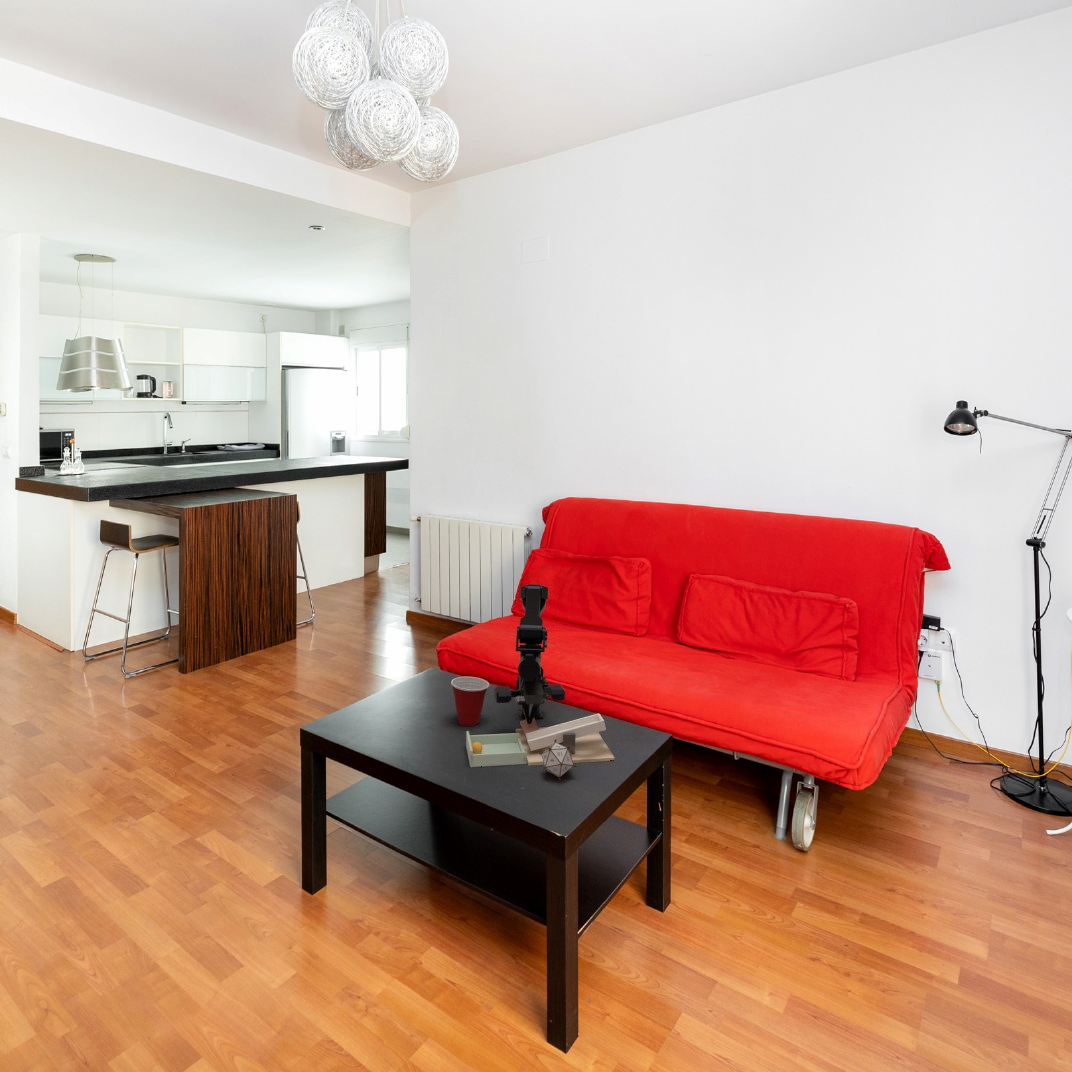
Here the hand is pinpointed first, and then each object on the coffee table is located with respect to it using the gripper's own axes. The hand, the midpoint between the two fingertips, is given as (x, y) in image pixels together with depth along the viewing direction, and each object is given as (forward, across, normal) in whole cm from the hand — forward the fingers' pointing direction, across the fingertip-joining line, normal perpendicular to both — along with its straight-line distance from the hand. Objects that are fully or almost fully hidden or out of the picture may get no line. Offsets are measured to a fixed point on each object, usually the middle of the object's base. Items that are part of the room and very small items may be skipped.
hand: (529, 723), depth 198 cm
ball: (+1, -15, -12) cm, 19 cm away
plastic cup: (+3, -15, +10) cm, 19 cm away
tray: (+3, -10, -12) cm, 16 cm away
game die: (+3, +3, -25) cm, 25 cm away
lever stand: (+3, +8, -8) cm, 12 cm away
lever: (-1, +8, -6) cm, 10 cm away
